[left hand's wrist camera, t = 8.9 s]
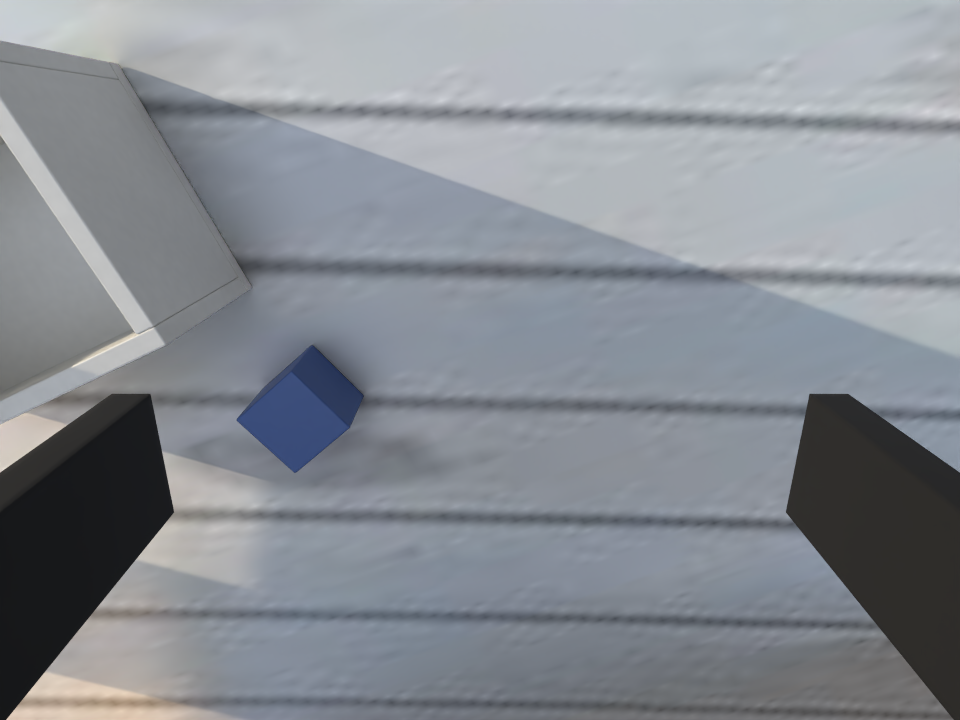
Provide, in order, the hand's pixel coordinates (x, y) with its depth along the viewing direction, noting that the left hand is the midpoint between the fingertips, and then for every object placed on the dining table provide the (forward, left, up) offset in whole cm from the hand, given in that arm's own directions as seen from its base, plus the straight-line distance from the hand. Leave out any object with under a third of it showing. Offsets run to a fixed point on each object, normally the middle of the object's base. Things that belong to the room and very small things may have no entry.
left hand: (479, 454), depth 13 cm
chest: (-5, +22, -22) cm, 31 cm away
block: (-10, +8, -22) cm, 25 cm away
